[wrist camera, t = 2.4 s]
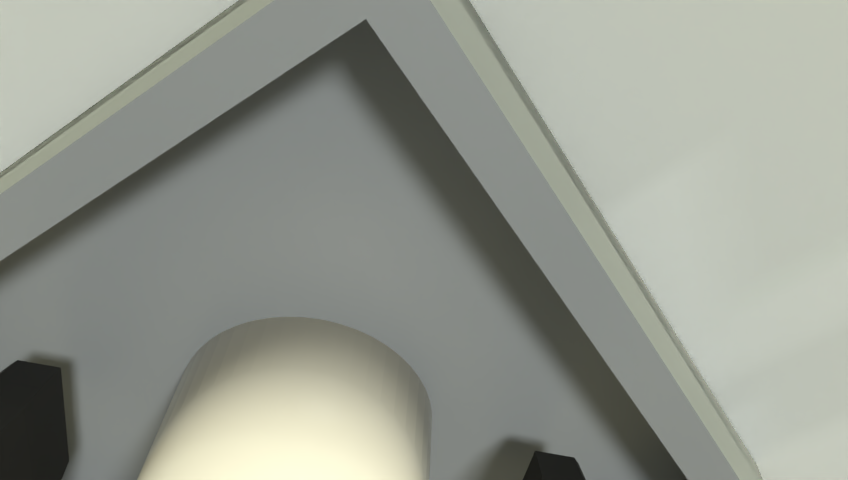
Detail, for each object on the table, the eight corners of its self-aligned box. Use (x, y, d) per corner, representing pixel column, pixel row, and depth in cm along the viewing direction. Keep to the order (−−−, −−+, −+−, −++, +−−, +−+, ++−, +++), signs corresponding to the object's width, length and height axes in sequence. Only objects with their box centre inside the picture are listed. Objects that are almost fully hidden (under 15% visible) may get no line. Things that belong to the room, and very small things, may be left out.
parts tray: (757, 466, 13) (799, 572, 11) (270, 632, 17) (249, 731, 15) (398, -116, 8) (381, -76, 7) (-176, 300, 12) (-280, 392, 10)
